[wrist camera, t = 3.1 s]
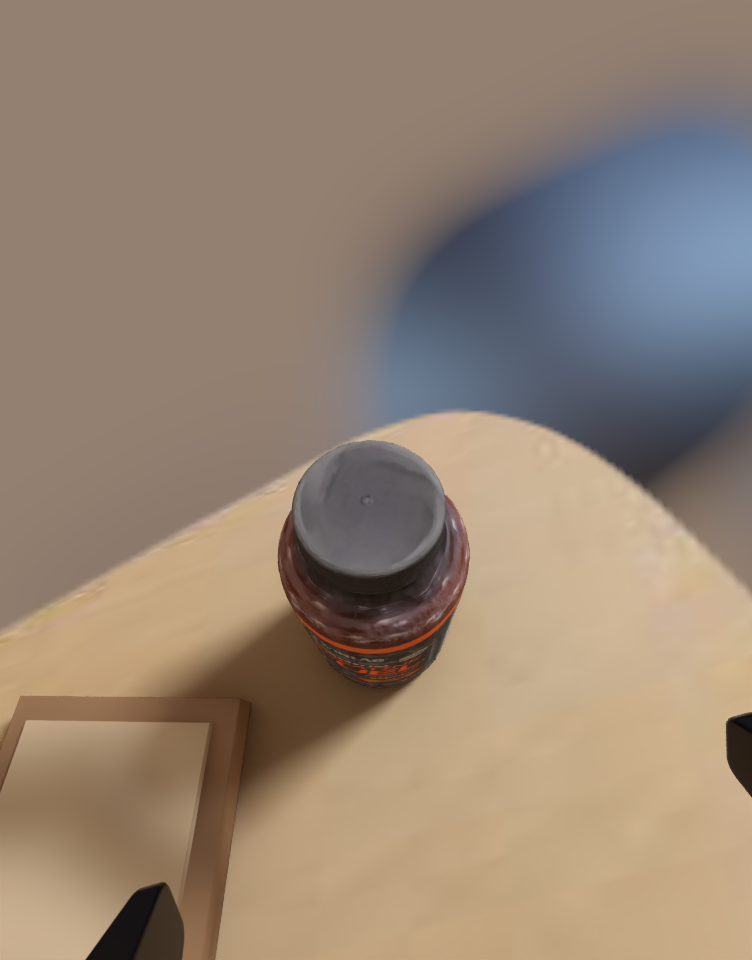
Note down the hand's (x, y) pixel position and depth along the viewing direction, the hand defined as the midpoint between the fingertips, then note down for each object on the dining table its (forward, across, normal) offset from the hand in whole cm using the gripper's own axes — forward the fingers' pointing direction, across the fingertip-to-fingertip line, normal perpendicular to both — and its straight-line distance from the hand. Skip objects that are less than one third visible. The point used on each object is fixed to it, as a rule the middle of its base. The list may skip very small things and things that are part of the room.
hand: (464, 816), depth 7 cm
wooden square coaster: (+10, +12, +8) cm, 17 cm away
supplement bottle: (+14, 0, +4) cm, 15 cm away
